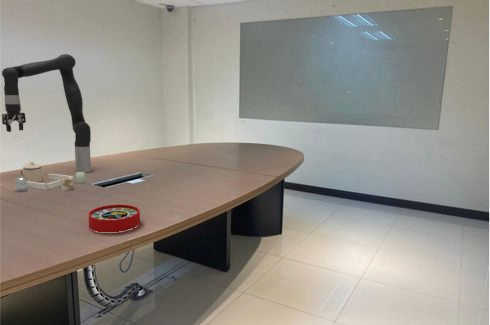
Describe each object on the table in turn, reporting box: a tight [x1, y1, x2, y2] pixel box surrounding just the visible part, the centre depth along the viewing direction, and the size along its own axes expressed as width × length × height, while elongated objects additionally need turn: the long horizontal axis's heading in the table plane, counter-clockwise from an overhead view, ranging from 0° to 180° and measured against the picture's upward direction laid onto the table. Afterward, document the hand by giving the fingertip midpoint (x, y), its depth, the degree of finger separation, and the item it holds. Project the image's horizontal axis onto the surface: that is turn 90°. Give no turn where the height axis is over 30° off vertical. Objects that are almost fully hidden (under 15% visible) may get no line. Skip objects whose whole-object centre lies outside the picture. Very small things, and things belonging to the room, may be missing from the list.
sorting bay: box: [27, 173, 76, 191], centre depth 207 cm, size 18×21×3 cm
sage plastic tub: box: [75, 171, 86, 185], centre depth 212 cm, size 5×5×6 cm
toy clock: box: [88, 204, 141, 232], centre depth 150 cm, size 20×6×20 cm
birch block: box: [60, 178, 74, 192], centre depth 197 cm, size 5×5×6 cm
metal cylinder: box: [14, 176, 28, 193], centre depth 191 cm, size 5×5×7 cm
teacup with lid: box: [19, 161, 43, 183], centre depth 209 cm, size 12×9×12 cm
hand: (15, 131), depth 211 cm, fingers open, 8 cm apart
